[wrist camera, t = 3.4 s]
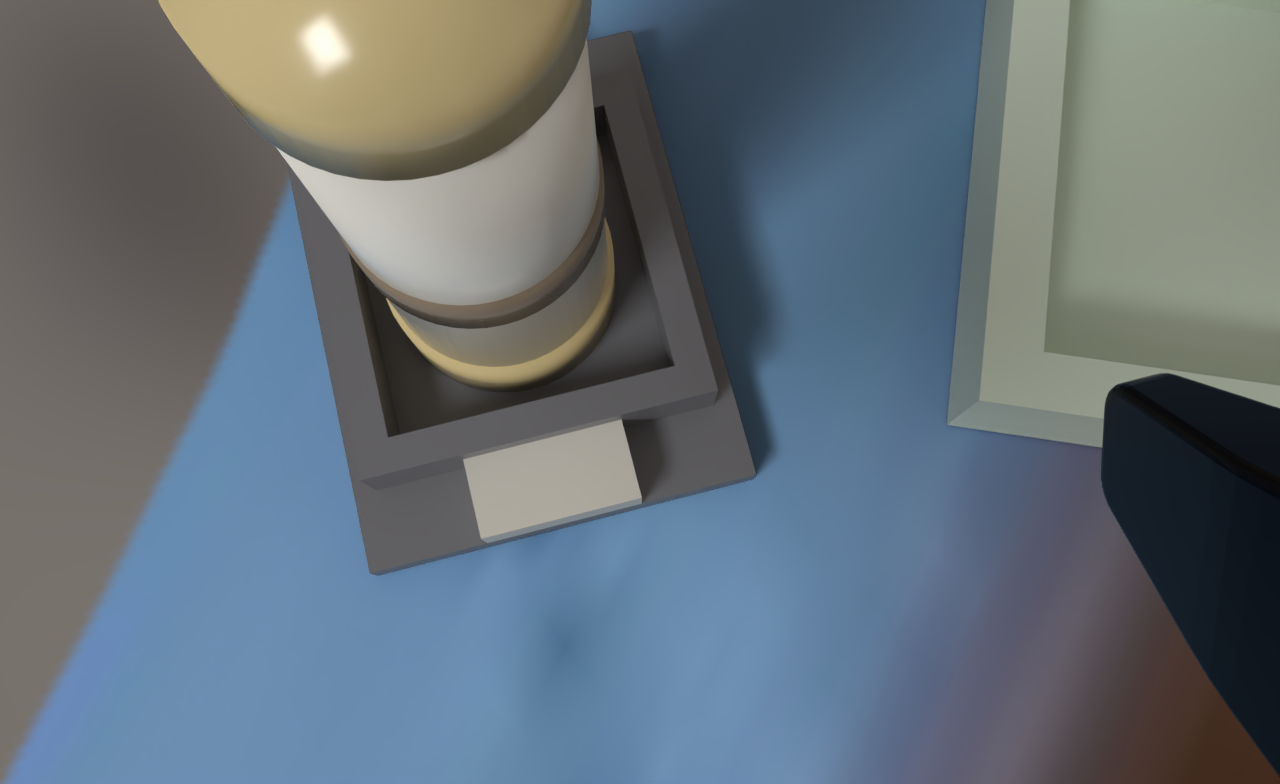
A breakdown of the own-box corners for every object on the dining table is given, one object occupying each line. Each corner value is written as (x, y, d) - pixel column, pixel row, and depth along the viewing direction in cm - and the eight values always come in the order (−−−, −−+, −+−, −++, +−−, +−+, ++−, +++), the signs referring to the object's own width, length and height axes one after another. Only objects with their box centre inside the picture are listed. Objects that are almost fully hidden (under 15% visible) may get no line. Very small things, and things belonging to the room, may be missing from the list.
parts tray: (1496, 505, 21) (1590, 489, 19) (946, 425, 21) (979, 400, 19) (1488, 14, 23) (1572, -49, 21) (990, -52, 23) (1025, -120, 21)
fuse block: (753, 478, 21) (763, 463, 19) (377, 575, 20) (353, 568, 19) (631, 46, 23) (630, -4, 21) (286, 127, 22) (256, 83, 21)
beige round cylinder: (542, 432, 20) (428, 192, 10) (356, 323, 21) (52, -23, 10) (656, 251, 21) (666, -162, 10) (474, 149, 22) (305, -344, 11)
